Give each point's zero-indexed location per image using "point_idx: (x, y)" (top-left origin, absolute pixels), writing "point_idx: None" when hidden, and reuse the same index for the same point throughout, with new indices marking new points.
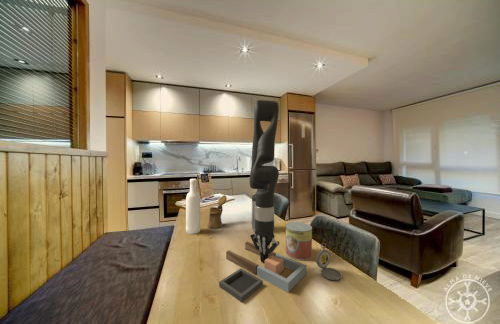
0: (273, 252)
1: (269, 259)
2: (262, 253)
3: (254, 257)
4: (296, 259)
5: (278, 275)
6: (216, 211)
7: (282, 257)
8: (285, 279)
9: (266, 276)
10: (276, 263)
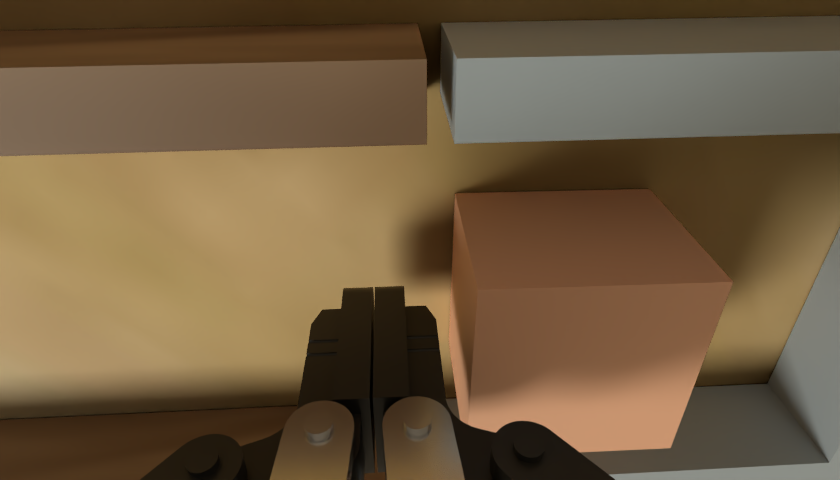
0: (360, 82)
1: (512, 405)
2: (371, 468)
3: (92, 209)
4: None
5: (732, 477)
6: None
7: (632, 127)
8: (822, 477)
9: None
10: (659, 415)
